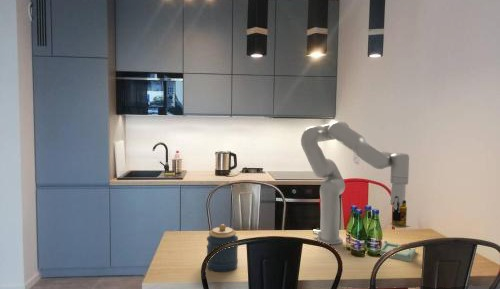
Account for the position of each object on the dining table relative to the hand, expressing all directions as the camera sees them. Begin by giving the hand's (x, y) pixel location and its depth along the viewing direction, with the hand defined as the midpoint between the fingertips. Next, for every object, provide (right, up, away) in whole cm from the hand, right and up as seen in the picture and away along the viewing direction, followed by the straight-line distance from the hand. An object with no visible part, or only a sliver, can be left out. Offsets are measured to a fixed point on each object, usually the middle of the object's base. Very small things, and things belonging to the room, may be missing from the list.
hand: (397, 218), depth 161 cm
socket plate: (0, -16, +1) cm, 16 cm away
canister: (-80, -17, -15) cm, 83 cm away
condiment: (0, -3, +1) cm, 4 cm away
